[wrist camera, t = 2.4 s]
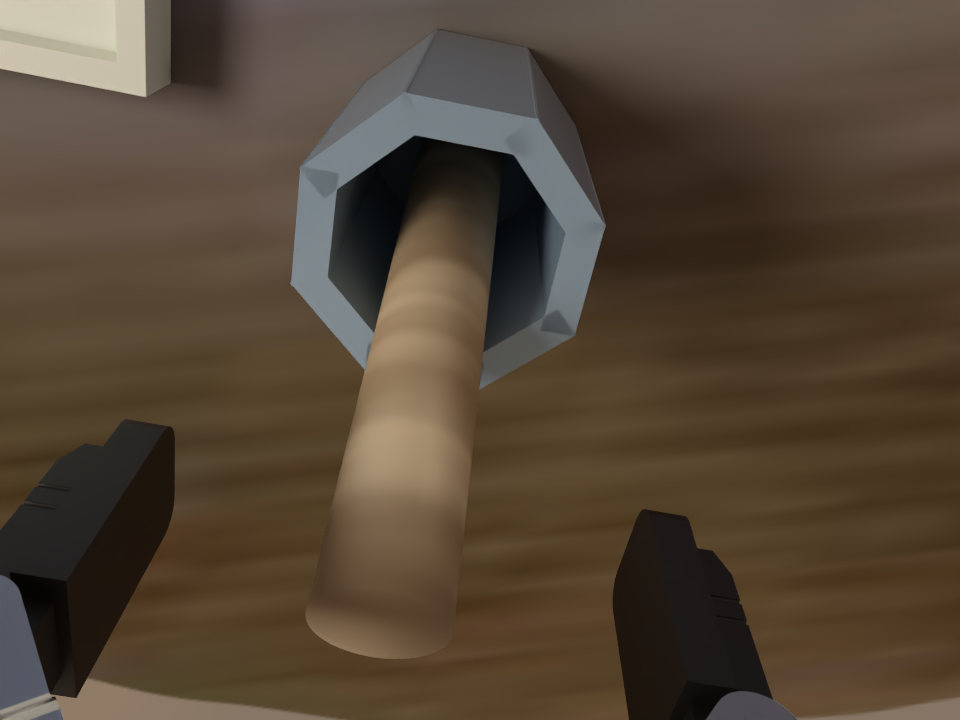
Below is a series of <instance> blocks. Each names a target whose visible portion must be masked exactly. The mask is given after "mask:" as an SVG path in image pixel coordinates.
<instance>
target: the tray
mask: <svg viewBox="0 0 960 720" xmlns="http://www.w3.org/2000/svg"><path fill="white" fill-rule="evenodd" d="M0 69H5V70H10V71H15V72H20V73H26V74H31V75H36V76H41V77H46V78H51V79H56V80H61V81H66V82H72V83H77V84H82V85H87V86H92V87H97V88H102V89H107V90H113V91H118V92H123V93H128V94H133V95H138V96H143V97H147V96H149V95H151V94H152V93H154V92H156V91H158V90H160V89H161V88H163V87H165V86H167V85H169V84H170V83H171V0H0Z"/></svg>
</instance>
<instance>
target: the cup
mask: <svg viewBox="0 0 960 720" xmlns="http://www.w3.org/2000/svg"><path fill="white" fill-rule="evenodd" d="M422 137H427V138H432V139H437V140H442V141H447V142H452V143H457V144H462V145H468V146H473V147H478V148H483V149H488V150H493V151H498V152H503V153H504V161H503V170H502V180H501V189H500V199H499V208H498V217H497V227H496V236H495V246H494V255H493V264H492V274H491V283H490V293H489V302H488V311H487V321H486V330H485V340H484V349H483V358H482V368H481V377H480V387H479V389H481V388H483V387H485V386H486V385H488V384H490V383H492V382H493V381H495V380H497V379H499V378H501V377H502V376H504V375H506V374H508V373H509V372H511V371H513V370H515V369H516V368H518V367H520V366H522V365H523V364H525V363H527V362H529V361H531V360H532V359H534V358H536V357H538V356H539V355H541V354H543V353H545V352H546V351H548V350H550V349H552V348H554V347H555V346H557V345H559V344H561V343H562V342H564V341H566V340H568V339H569V338H571V337H574V336H575V335H576V333H575V332H576V329H577V325H578V322H579V318H580V315H581V311H582V307H583V304H584V300H585V297H586V293H587V290H588V286H589V283H590V279H591V275H592V272H593V268H594V265H595V261H596V258H597V254H598V250H599V247H600V243H601V240H602V236H603V233H604V229H605V228H606V224H605V220H604V217H603V214H602V210H601V207H600V204H599V201H598V197H597V194H596V191H595V188H594V184H593V181H592V178H591V174H590V171H589V168H588V165H587V161H586V158H585V155H584V152H583V148H582V145H581V142H580V138H579V135H578V132H577V129H576V125H575V124H574V123H573V121H572V119H571V118H570V116H569V115H568V113H567V111H566V110H565V108H564V106H563V105H562V103H561V102H560V100H559V98H558V97H557V95H556V93H555V92H554V90H553V89H552V87H551V85H550V84H549V82H548V80H547V79H546V77H545V76H544V74H543V72H542V71H541V69H540V67H539V66H538V64H537V63H536V61H535V59H534V58H533V56H532V54H531V53H530V51H529V48H527V47H521V46H516V45H511V44H507V43H502V42H497V41H492V40H487V39H482V38H477V37H473V36H468V35H463V34H458V33H453V32H448V31H443V30H439V29H436V30H435V31H434V32H433V33H431V34H430V35H429V36H427V37H426V38H425V39H423V40H422V41H421V42H419V43H418V44H417V45H415V46H414V47H412V48H411V49H410V50H408V51H407V52H406V53H404V54H403V55H402V56H400V57H399V58H398V59H396V60H395V61H394V62H392V63H391V64H390V65H388V66H387V67H385V68H384V69H383V70H381V71H380V72H379V73H377V74H376V75H375V76H373V77H372V78H371V79H369V80H368V81H367V82H364V84H363V85H362V86H361V88H360V89H359V90H358V92H357V93H356V94H355V95H354V97H353V98H352V99H351V101H350V102H349V103H348V105H347V106H346V107H345V109H344V110H343V111H342V112H341V114H340V115H339V116H338V118H337V119H336V120H335V122H334V123H333V124H332V126H331V127H330V128H329V129H328V131H327V132H326V133H325V135H324V136H323V137H322V139H321V140H320V141H319V143H318V144H317V145H316V147H315V148H314V149H313V150H312V152H311V153H310V154H309V156H308V157H307V158H306V160H305V161H304V162H303V164H302V165H301V167H300V181H299V194H298V206H297V218H296V231H295V243H294V256H293V268H292V280H291V282H290V283H291V285H292V286H293V287H294V288H295V289H296V290H297V291H298V292H299V294H300V295H301V296H302V297H303V298H304V299H305V301H306V302H307V303H308V304H309V305H310V306H311V308H312V309H313V310H314V311H315V312H316V313H317V315H318V316H319V317H320V318H321V319H322V320H323V322H324V323H325V324H326V325H327V326H328V327H329V329H330V330H331V331H332V332H333V333H334V334H335V336H336V337H337V338H338V339H339V340H340V341H341V343H342V344H343V345H344V346H345V347H346V348H347V350H348V351H349V352H350V353H351V354H352V355H353V357H354V358H355V359H356V360H357V361H358V362H359V364H360V365H361V366H362V367H363V368H364V369H366V365H367V361H368V356H369V352H370V348H371V344H372V340H373V336H374V332H375V328H376V324H377V320H378V316H379V312H380V308H381V304H382V300H383V296H384V291H385V287H386V283H387V279H388V275H389V271H390V267H391V263H392V259H393V255H394V251H395V247H396V243H397V239H398V235H399V231H400V226H401V222H402V218H403V214H404V210H405V206H406V202H407V198H408V194H409V190H410V186H411V182H412V178H413V174H414V170H415V166H416V161H417V157H418V153H419V149H420V145H421V141H422ZM364 371H365V370H364Z"/></svg>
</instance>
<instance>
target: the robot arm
mask: <svg viewBox="0 0 960 720" xmlns="http://www.w3.org/2000/svg"><path fill="white" fill-rule="evenodd" d="M174 480H175V436H174V431H173V428H172V427H169V426H163V425H157V424H151V423H145V422H140V421H134V420H128V419H126V420H124V421H122V422H121V424H120V425H119V426H118V427H117V429H116V430H115V431H114V433H113V434H112V435H111V437H110V438H109V439H108V441H107V442H106V443H105V445H104V446H103V447H102V446H96V445H90V444H84V445H82V446H80V447H79V448H77V449H75V450H74V451H72V452H70V453H69V454H67V455H65V456H64V457H62V458H60V459H59V460H57V461H56V462H55V464H54V465H53V466H52V467H51V468H50V470H49V471H48V472H47V473H46V475H45V476H44V477H43V478H42V480H41V481H40V482H39V486H38V487H35V488H34V489H33V491H32V492H31V493H30V494H29V496H28V497H27V498H26V499H25V502H24V505H20V507H19V508H18V509H17V510H16V512H15V513H14V514H13V515H12V517H11V518H10V519H9V520H8V521H7V523H6V524H5V525H4V526H3V528H2V529H1V530H0V720H63V717H62V714H61V711H60V707H59V705H58V702H57V700H56V698H55V697H52V698H51V696H50V694H53V695H59V696H67V697H73V698H77V695H78V694H79V692H80V690H81V688H82V686H83V685H84V683H85V681H86V679H87V677H88V676H89V674H90V672H91V670H92V668H93V666H94V665H95V663H96V661H97V659H98V657H99V655H100V653H101V652H102V650H103V648H104V646H105V644H106V642H107V641H108V639H109V637H110V635H111V633H112V631H113V630H114V628H115V626H116V624H117V622H118V620H119V619H120V617H121V615H122V613H123V611H124V609H125V608H126V606H127V604H128V602H129V600H130V598H131V597H132V595H133V593H134V591H135V589H136V587H137V586H138V584H139V582H140V580H141V578H142V576H143V575H144V573H145V571H146V569H147V567H148V565H149V564H150V562H151V560H152V558H153V556H154V554H155V552H156V551H157V549H158V547H159V545H160V543H161V541H162V540H163V538H164V536H165V534H166V531H167V529H168V526H169V523H170V520H171V516H172V512H173V506H174ZM739 601H740V598H739V595H738V592H737V589H736V586H735V583H734V580H733V577H732V575H731V573H730V572H729V571H728V569H727V568H726V567H725V566H724V564H723V563H722V562H721V561H720V559H719V558H718V557H717V556H716V554H715V553H714V552H713V551H710V550H704V549H698V548H697V546H696V543H695V540H694V536H693V533H692V529H691V526H690V523H689V520H688V518H687V517H686V516H681V515H675V514H669V513H663V512H658V511H652V510H646V509H644V510H642V511H641V512H640V513H639V515H638V517H637V520H636V523H635V525H634V528H633V531H632V533H631V536H630V539H629V541H628V544H627V547H626V550H625V552H624V555H623V558H622V560H621V563H620V566H619V569H618V571H617V574H616V578H615V583H614V590H613V613H614V620H615V627H616V633H617V640H618V647H619V654H620V661H621V668H622V674H623V681H624V688H625V695H626V702H627V709H628V715H629V720H797V719H796V718H795V716H794V715H792V714H791V713H790V712H789V711H788V710H787V709H786V708H784V707H783V706H782V705H780V704H779V703H777V702H776V701H774V700H773V698H772V695H771V692H770V689H769V686H768V683H767V680H766V677H765V674H764V671H763V668H762V665H761V662H760V659H759V656H758V653H757V650H756V647H755V644H754V641H753V638H752V635H751V632H750V629H749V626H748V625H746V617H745V614H744V611H743V608H742V605H741V604H739Z"/></svg>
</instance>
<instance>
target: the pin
mask: <svg viewBox="0 0 960 720" xmlns="http://www.w3.org/2000/svg"><path fill="white" fill-rule="evenodd" d="M503 161H504V153H503V152H498V151H493V150H488V149H483V148H478V147H473V146H468V145H462V144H457V143H452V142H447V141H442V140H437V139H432V138H427V137H422V141H421V145H420V149H419V153H418V157H417V161H416V166H415V170H414V174H413V178H412V182H411V186H410V190H409V194H408V198H407V202H406V206H405V210H404V214H403V218H402V222H401V226H400V231H399V235H398V239H397V243H396V247H395V251H394V255H393V259H392V263H391V267H390V271H389V275H388V279H387V283H386V287H385V291H384V296H383V300H382V304H381V308H380V312H379V316H378V320H377V324H376V328H375V332H374V336H373V340H372V344H371V348H370V352H369V356H368V361H367V365H366V369H365V373H364V377H363V381H362V385H361V389H360V393H359V397H358V401H357V405H356V409H355V413H354V417H353V421H352V426H351V430H350V434H349V438H348V442H347V446H346V450H345V454H344V458H343V462H342V466H341V470H340V474H339V478H338V482H337V487H336V491H335V495H334V499H333V503H332V507H331V511H330V515H329V519H328V523H327V527H326V531H325V535H324V539H323V543H322V547H321V552H320V556H319V560H318V564H317V568H316V572H315V576H314V580H313V584H312V588H311V592H310V596H309V600H308V604H307V608H306V613H305V616H306V621H307V623H308V625H309V627H310V628H311V629H312V630H313V632H314V633H316V634H317V635H318V636H319V637H320V638H322V639H323V640H325V641H327V642H328V643H330V644H332V645H334V646H336V647H339V648H341V649H344V650H346V651H349V652H353V653H356V654H360V655H364V656H370V657H376V658H386V659H408V658H417V657H422V656H426V655H429V654H432V653H435V652H437V651H439V650H441V649H443V648H444V647H445V646H447V645H448V643H449V642H450V641H451V639H452V637H453V631H454V621H455V612H456V603H457V593H458V584H459V574H460V565H461V556H462V546H463V537H464V527H465V518H466V509H467V499H468V490H469V480H470V471H471V462H472V452H473V443H474V434H475V424H476V415H477V405H478V396H479V387H480V377H481V368H482V358H483V349H484V340H485V330H486V321H487V311H488V302H489V293H490V283H491V274H492V264H493V255H494V246H495V236H496V227H497V217H498V208H499V199H500V189H501V180H502V170H503Z"/></svg>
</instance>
